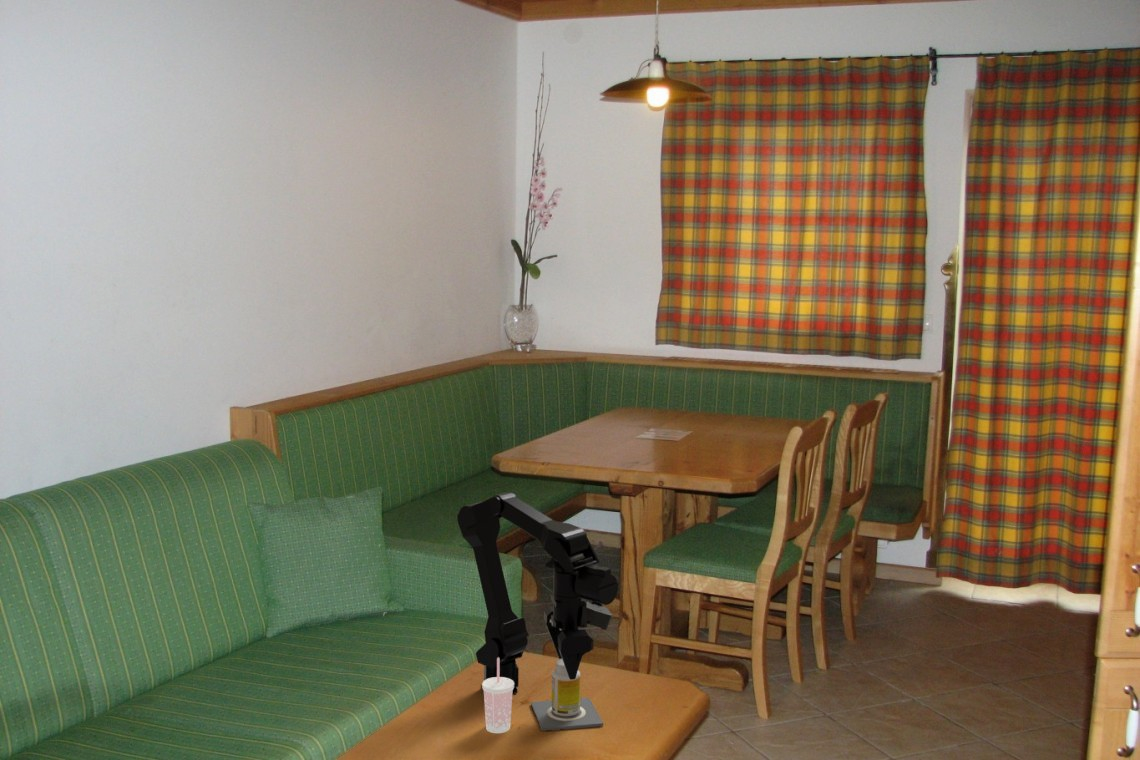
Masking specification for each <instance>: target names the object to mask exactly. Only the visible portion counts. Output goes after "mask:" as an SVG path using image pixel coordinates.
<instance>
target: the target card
mask: <svg viewBox="0 0 1140 760" xmlns="http://www.w3.org/2000/svg"><path fill="white" fill-rule="evenodd" d="M530 705H531V707H532V708H533V709H532V711H533V713H534V715H536V716H535V718H536V717H537V718H536V720H538V721H537V723H538V722H539V723H538V725H539V727H541V728H540V730H541V732H547V731H546V730H552V731H561V730H560V729H564V730H573V729H585V728H586V729H588V728H598V727H604V722H603V719H602V718H601V716H600V715H599V713H598V711H597V710H596V709H597V708H595V706H594V704H593V701H592V700H591V699H590V697H580V711H579V712H578V713H577V714H575V715H573V716H559V715H557V714H555V713H554V712H553V711H552V700H543V701H542V700H541V701H531V702H530Z"/></svg>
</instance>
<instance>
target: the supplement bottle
mask: <svg viewBox="0 0 1140 760" xmlns="http://www.w3.org/2000/svg"><path fill="white" fill-rule="evenodd" d="M580 698H581V672H580V670H578V672H577V675H576V678H575V679H572V680H570V679H569V676H568V673H567V671H566V668H565V665H564V662H563V660H562V659H559V658H558V659H557V660H556V661H555V669H553V671H552V673H551V701H552V711H553V712H554V713H555V714H557V715H559V716H573V715H575V714H577V713H578V712H579V711H580Z"/></svg>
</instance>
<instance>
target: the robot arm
mask: <svg viewBox="0 0 1140 760" xmlns="http://www.w3.org/2000/svg"><path fill="white" fill-rule="evenodd" d="M456 515H457V516H456V517H457V519H456V520H457V524H458V527H459V529H460V533H461V535H462V538H463V539H464V540H465V541H466V543H468V545H469V546H470V547H471V548H472V550H473V554H474V558H475V562H476V563H475V564H476V567H477V572H478V576H479V577H478V578H479V580H480V585H481V589H482V593H483V598H484V601H485V602H484V604H485V606H486V611H487V615H488V616H487V617H488V618H487V621H486V624H485V628H484V641H485V643H484V644H483V645H482V646H481V647H480V648H479V649H478V650H477V651H475V657H476V661H477V663H478V664H480V665H481V666H482V665H483V681H484V680H486V679H488V678H492V677H497V658H500V674H499V677H505V678H509V679H511V680H513V682H514V688H513V692H512V694H517V693H518V687H519V671H520V670H519V669H520V668H519V667H518V664H517V661H516V660H518V659H521V658H522V657H523V655H524V652H525V650H526V648H527V646H528V645H529V644H528V643H529V641H528V640H529V639H528V637H529V636H530V634H529V633H528V630H527V627H526V625H527V624H526V619H525V618H524V617H523V616H522V617H518V615H517V614H516V613H515V612H514V611H513V609H512V604H511V601H510V600H511V599H510V596H509V592H508V586H507V583H506V579H505V575H504V569H503V566H502V565H503V564H502V562H501V558H500V557H501V556H500V552H499V550H498V549H499V548H498V542H497V541H498V538H499V534H500V530H501V523H500V522H501V521H500V519H502V518H503V519H505V520H506V521H508V522H509V523H511V524H513V525H515V526H516V527H518V528H519V529H521V530H522V531H524V532H526V533H527V534H529V536H531V537H533V538H535V539H536V540H538V542H540V544H541V547H542V549H543V551H544V552H545V553H546V554H547V555H548V556H550V559H549V560H548V561H547V562H545V564H544V566H545V568H548V569H552V570H553V594H551V597H550V598H551V599H550V600H551V602H552V603H553V605H548V606H547V607H546V608H545V609H544V610H543V621H544V622H545V627H546V629H547V632H548V633H549V636H550V639H551V642H552V644H553V646H554V649H555V651H556V654H557V657H558V660H559V659H562V660H563V662H564V665H565V668H566V671H567V673H568V676H569V679H570V680H572V679H575V678H576V675H577V672H578V671H579V668H580V665H581V661H582V659H583V656H584V655H585V654H587V653H590V652H591V651H593V650H594V640H595V639H594V638H593V637H592V636H591V635H592V634H590V632H589V631H587V629H579V628H587V627H588V625H591V626H593V627H596V628H600V629H601V630H603V631H607V630H608V628H609V625H610V622H611V621H612V617H613V613H612V612H611V611H610V610H609V608H607V607H606V606H608V605H611V604H612V603H613V602H614V600H615V599H616V598H617V595H618V593H619V592H618V591H619V583H618V581H617V578H616V576H614V575H613V574H612V569H611V567H608V566H607V567H606V566H605V567H603V566H599V564H600V559H599V558H598V556H597V553H596V552H595V550H594V548H593V546H592V544H591V542H590V540H589V538H588V535H587V532H586V531H585V530H584V529H583V528H581V527H579V526H576V525H574V524H572V523H567V522H563V521H562V522H561V521H556V520H554V519H552V518H550V517H549V516H547V515H545V514H544V513H542V512H541V511H540V510H538V509H536V508H535V507H533V506H531V505H529V504H528V503H527V502H524V501H523V500H521V499H520V498H518V497H517V495H516V494H515V493H514V492H509V491H508V492H503V493H499V494H494V495H493V496H491V497H489V498H488V499H486V500H484V501H479V502H476V503H472V504H466V505H463V506H462V507H460V510H459V511H458V513H457V514H456ZM582 556H583V557H582ZM579 557H580V558H579ZM576 558H579V559H576ZM574 559H576V560H574ZM586 600H587V601H586Z"/></svg>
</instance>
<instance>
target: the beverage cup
mask: <svg viewBox="0 0 1140 760" xmlns="http://www.w3.org/2000/svg"><path fill="white" fill-rule="evenodd" d="M499 674H500V658H497V677H492V678H488V679H486V680H484V679H483V681H482V683H481V685H482V687H481V688H482V691H483V700H484V715H485V717H484V718H485V719H484V720H485V728H486V731H487V732H489V733H492V734H504V733H507V732H509V731H510V729H511V721H512V720H511V719H512V706H513V705H512V704H513V693H512V692H513V688H514V682H513V680H511V679H509V678H505V677H499Z"/></svg>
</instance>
